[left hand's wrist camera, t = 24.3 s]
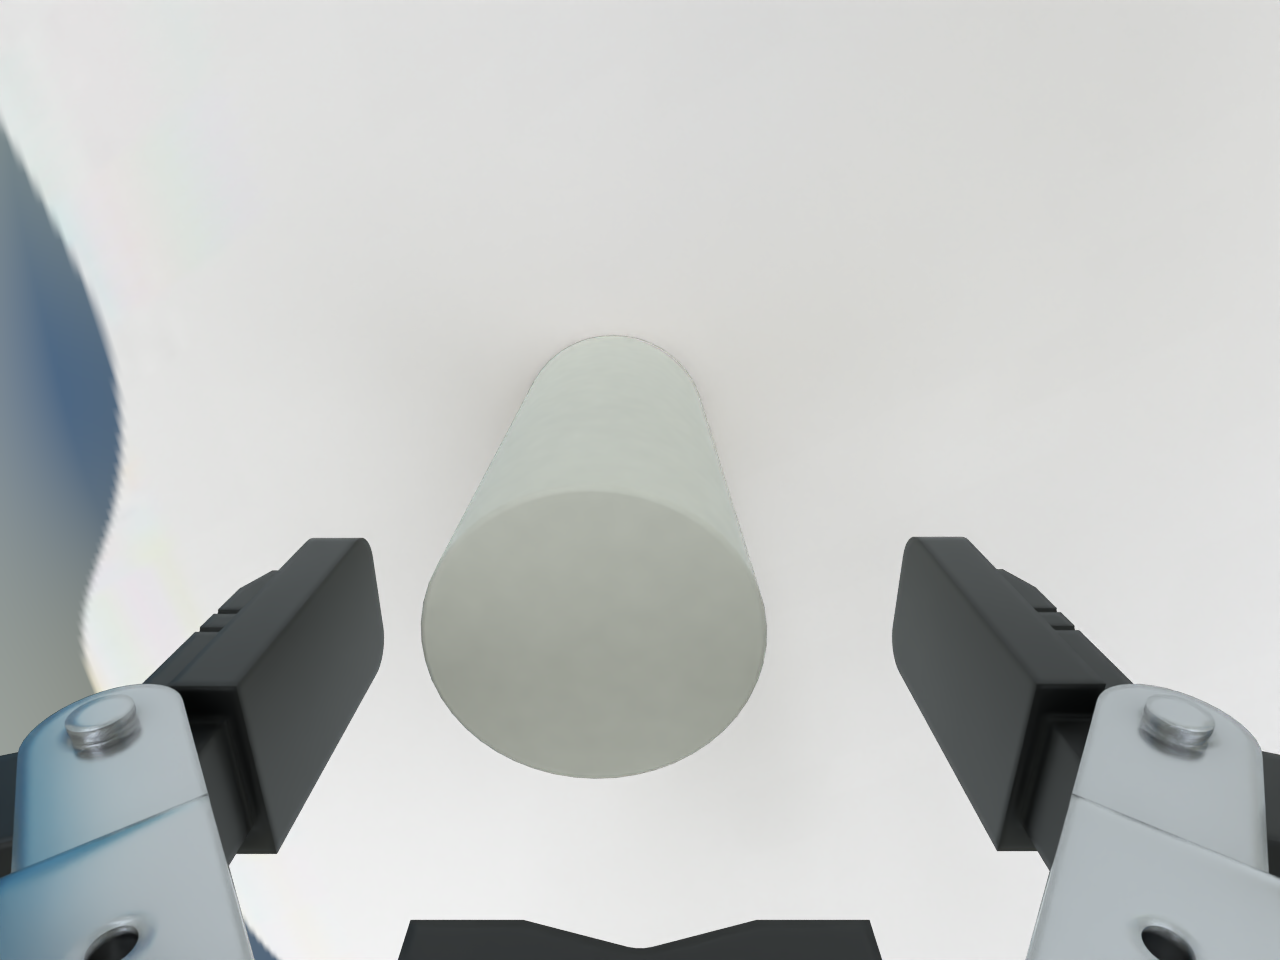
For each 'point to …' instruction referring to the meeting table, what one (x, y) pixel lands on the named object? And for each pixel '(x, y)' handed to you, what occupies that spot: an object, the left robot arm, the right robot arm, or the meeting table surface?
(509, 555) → the cylinder
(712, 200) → the meeting table surface
